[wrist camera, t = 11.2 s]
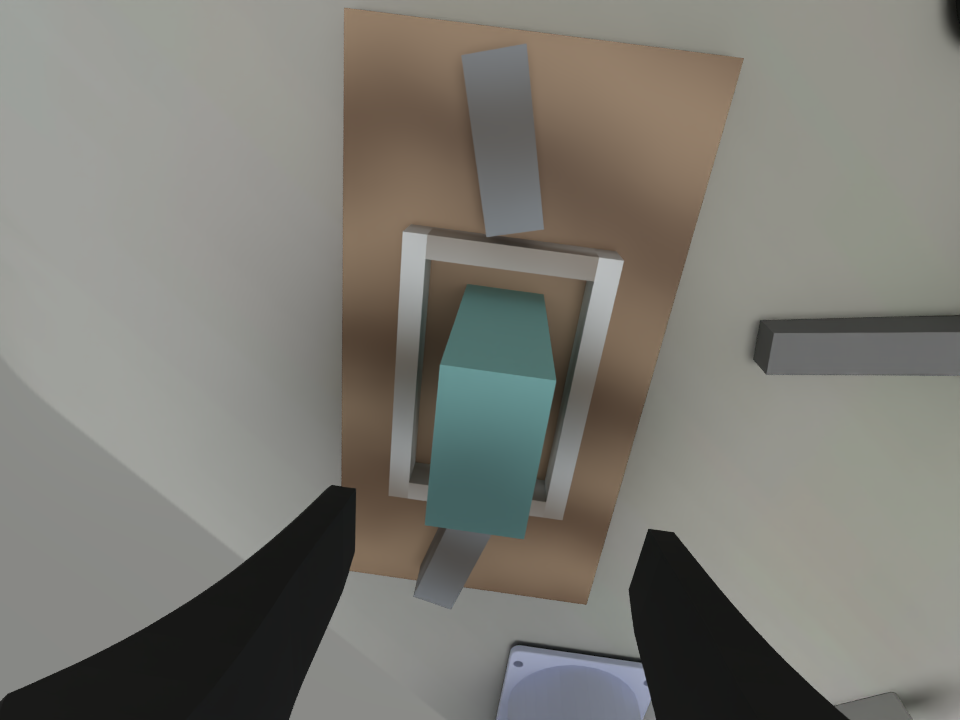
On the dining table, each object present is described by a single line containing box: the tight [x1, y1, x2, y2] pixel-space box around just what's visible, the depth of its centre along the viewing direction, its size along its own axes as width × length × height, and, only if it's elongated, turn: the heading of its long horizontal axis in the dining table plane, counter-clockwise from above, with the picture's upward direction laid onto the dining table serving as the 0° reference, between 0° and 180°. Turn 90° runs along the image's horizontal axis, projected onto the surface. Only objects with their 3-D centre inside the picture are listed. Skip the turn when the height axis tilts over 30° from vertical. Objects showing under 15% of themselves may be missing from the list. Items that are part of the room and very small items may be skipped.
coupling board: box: [342, 8, 744, 609], centre depth 20 cm, size 23×12×3 cm, turn 173°
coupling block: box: [425, 284, 556, 539], centre depth 16 cm, size 3×5×7 cm, turn 173°
